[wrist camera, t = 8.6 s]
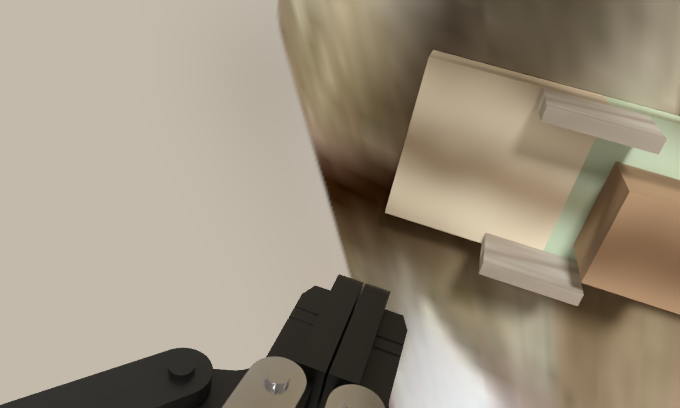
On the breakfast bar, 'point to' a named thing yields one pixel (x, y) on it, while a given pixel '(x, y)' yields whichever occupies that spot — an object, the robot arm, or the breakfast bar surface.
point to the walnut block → (634, 238)
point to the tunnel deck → (520, 165)
